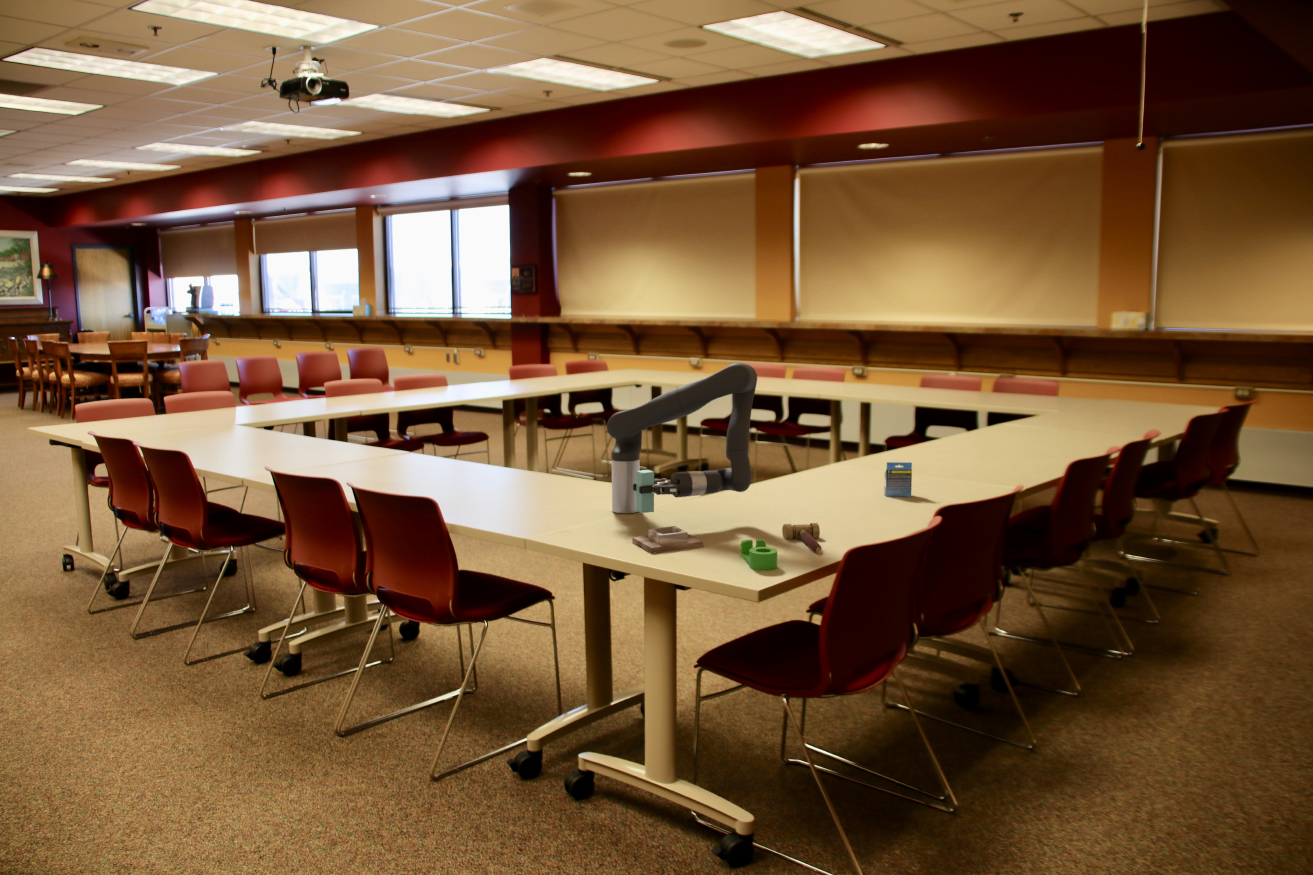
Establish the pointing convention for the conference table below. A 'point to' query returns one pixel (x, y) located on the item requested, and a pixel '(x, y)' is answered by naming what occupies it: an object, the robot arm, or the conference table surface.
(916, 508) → the conference table surface
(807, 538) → the gavel
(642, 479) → the teal post
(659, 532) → the walnut socket plate
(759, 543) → the green slotted bracket
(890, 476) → the label tape cartridge
